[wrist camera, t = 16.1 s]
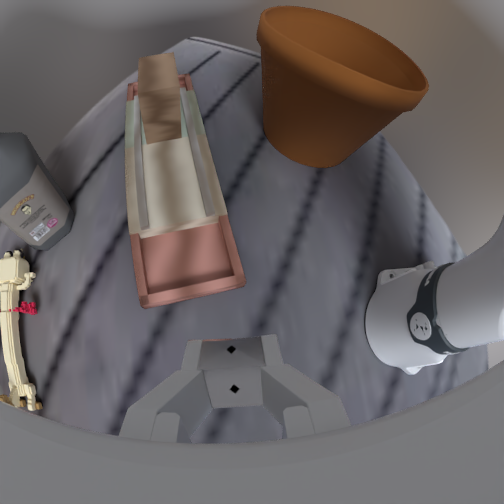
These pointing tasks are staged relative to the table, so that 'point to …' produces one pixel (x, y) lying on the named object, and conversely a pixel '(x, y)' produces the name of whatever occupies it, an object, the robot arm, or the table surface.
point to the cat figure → (15, 327)
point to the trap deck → (177, 210)
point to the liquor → (30, 195)
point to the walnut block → (159, 98)
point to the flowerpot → (329, 84)
